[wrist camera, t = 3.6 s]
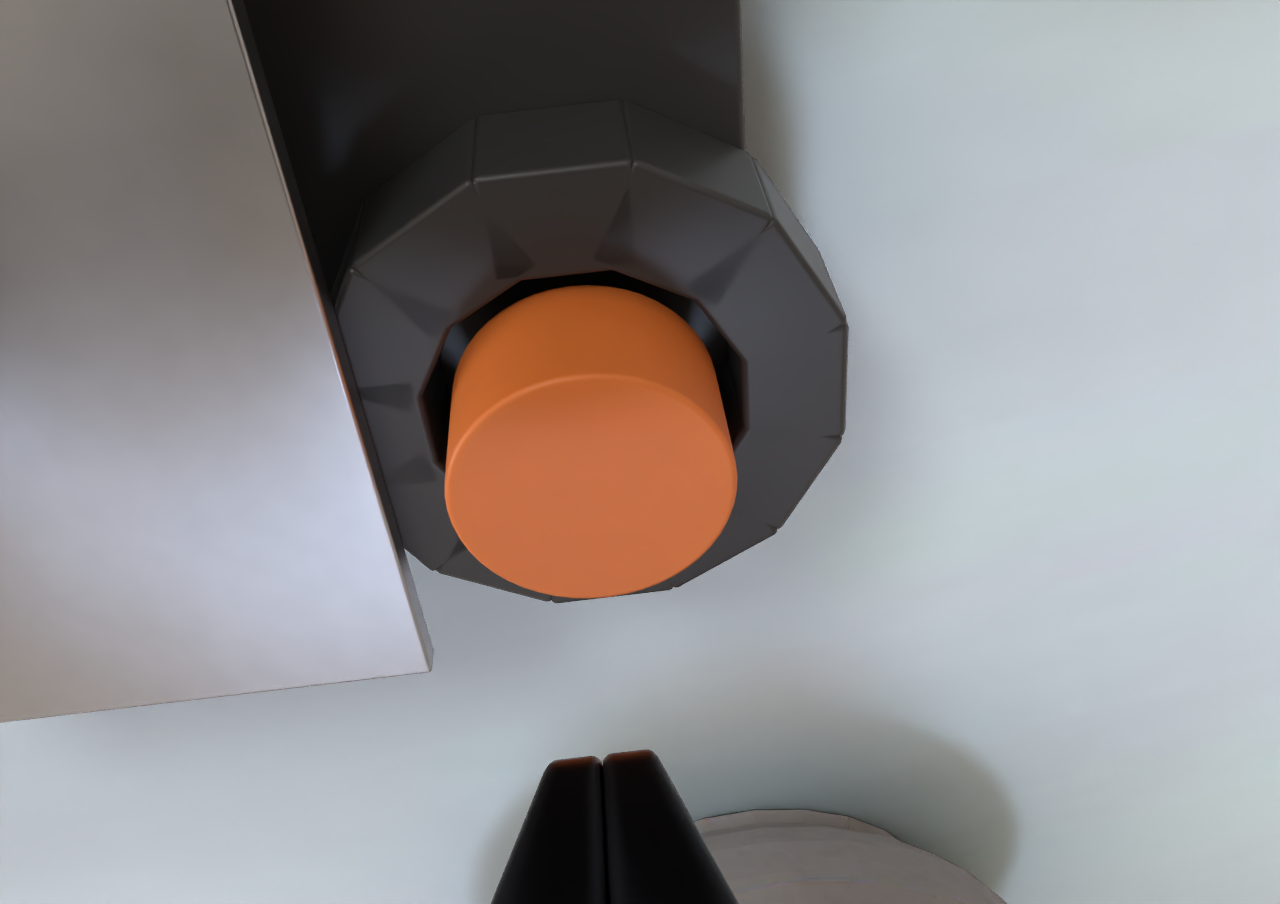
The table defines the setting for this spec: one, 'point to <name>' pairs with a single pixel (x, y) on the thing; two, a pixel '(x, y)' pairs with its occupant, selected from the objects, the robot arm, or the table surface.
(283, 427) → the pan
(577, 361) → the button
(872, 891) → the coffee pot
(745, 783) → the table surface
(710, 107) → the scale
